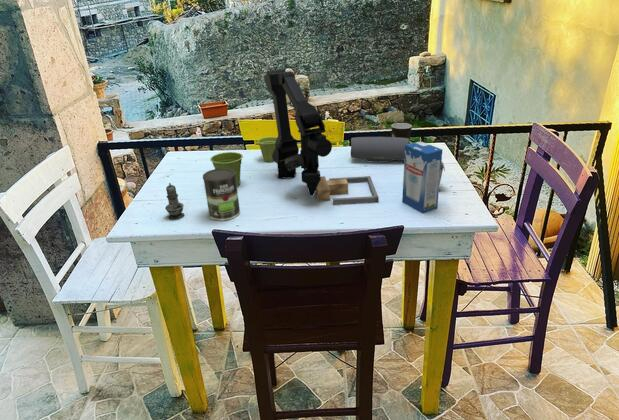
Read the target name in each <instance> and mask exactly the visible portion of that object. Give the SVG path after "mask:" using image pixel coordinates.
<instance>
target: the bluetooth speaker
mask: <svg viewBox="0 0 619 420" xmlns="http://www.w3.org/2000/svg"><path fill="white" fill-rule="evenodd" d="M350 144H351V145H350V158H351V159H357V160H366V162H369V163H370V162H371V163H391V162H393V161H398V160H399V161H400V160H401V161H402V160H404V158H405V145H408V144H410V140H409V139H408V138H398V137H392V136H357V137H351V138H350Z"/></svg>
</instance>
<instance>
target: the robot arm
mask: <svg viewBox="0 0 619 420" xmlns="http://www.w3.org/2000/svg"><path fill="white" fill-rule="evenodd" d="M295 75H296V74H295V73H294V72H293V71H287V70H286V69H285V68H281V69H280V68H279V69H273V70H267V71H266V74H264V77H263V80H264V84H265V85H266V90H267V91H268V92H269V94H270V95H272V101H273V109H274V114H275V121H276V123H275V124H276V130H277V140H276V142H275V150H274V152H273V154H272V158H273V161H274V163H276V165H277V179H290V178H295V177H296V174H297V168H300V169H303V170H302V171H301V172H300V173H301V175H300V176H301V182H302V183H304V184H306V186H307V191H308V194H309V196H310V197H313V196H314V195H315V194H316V191H315V190H316V188H317V186H318V184H319V182H320V181H321V177H322V176H321V171H320V170H319V167H320V161H319V157H323V158H324V157H327V156H328V155H329V154H330V153H331V152H332V149H333V146H332V142H331V140H330V139H327V134H324V133H326V132H327V131H326V125H325V123H324V121H323V119H322V117H321V114H320V113H319V111H318V110H317V108H316V107H315V106H314V105H313V104H312V103H309V102H308V101H307V99H306V96H305V95H304V93H303V91H302V89H301V87H300V86H299V84H298V82H297V80H296V76H295ZM287 98H288V99H287ZM287 100H289V101H290V104H291V106H292V107H293V109H294V113H295V114H294V120H295V125H296V126H297V128H298V131H297V132H298V133H299V135H300V137H299V138H300V149H299V146H298V140H297V139H296V138H294V136H293V135H292V131H291V124H290V123H291V122H290V117H289V116H290V115H289V109H288V101H287ZM299 151H300V153H299Z"/></svg>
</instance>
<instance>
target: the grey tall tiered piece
mask: <svg viewBox="0 0 619 420" xmlns="http://www.w3.org/2000/svg"><path fill="white" fill-rule="evenodd" d="M176 189H177V187H176V186H175V185H173V184H172V183H171V182H169V183H168V185H167V186H166V188H165V190H166V194H167V195H166V199H167V202H168V204H167V205H166V206H165V208H164V209H165V210H166V212H167V214H169V215H168V217H167V218H168V219H169V220H171V221H177V220H180V219H183V218H184V217H185V213H184V212H183V211H184V207H185V205H184V203H182V202H179V199H178V197H179V194H178V193H177V190H176Z"/></svg>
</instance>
